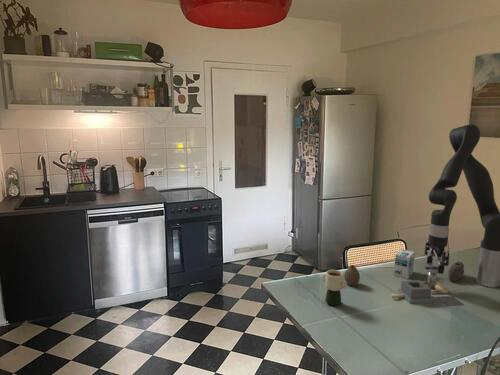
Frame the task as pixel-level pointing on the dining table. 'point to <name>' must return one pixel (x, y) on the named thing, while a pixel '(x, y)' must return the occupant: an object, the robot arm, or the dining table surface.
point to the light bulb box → (404, 263)
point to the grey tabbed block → (431, 274)
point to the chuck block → (414, 292)
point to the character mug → (334, 286)
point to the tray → (438, 288)
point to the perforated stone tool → (456, 271)
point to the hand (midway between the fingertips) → (434, 269)
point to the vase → (352, 276)
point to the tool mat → (450, 301)
